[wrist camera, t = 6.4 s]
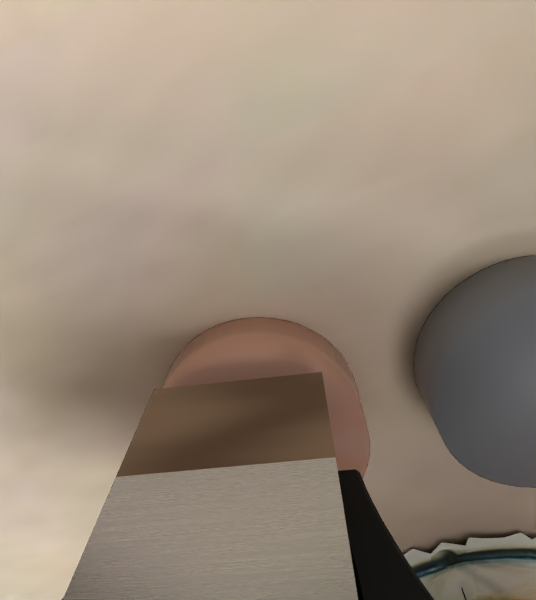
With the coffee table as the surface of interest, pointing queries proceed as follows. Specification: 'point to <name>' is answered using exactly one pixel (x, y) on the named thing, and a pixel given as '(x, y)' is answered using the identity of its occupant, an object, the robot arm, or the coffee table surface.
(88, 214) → the coffee table surface
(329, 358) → the stand
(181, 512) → the housing
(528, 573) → the decorative vase
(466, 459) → the stand
